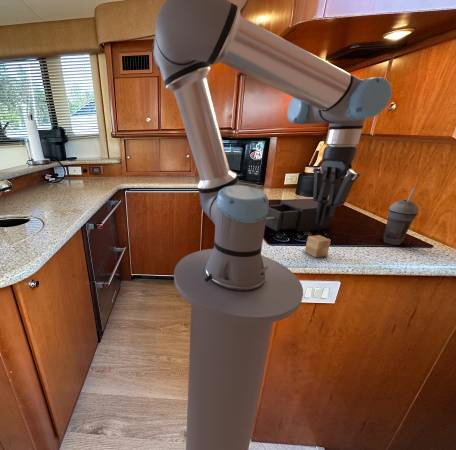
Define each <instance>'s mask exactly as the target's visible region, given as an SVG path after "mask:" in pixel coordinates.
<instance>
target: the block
mask: <svg viewBox="0 0 456 450" xmlns="http://www.w3.org/2000/svg"><path fill="white" fill-rule="evenodd" d="M331 241H332V240H331V239H329V238H327V237H325V236H322V235H320V234H318V235H317V234H316V235H309V236H307V240H306V244H305V248H304V252H305V253H307V254H308V255H310V256H312V257H314V258H322V257H327V256H328V252H329V249H330V246H331Z"/></svg>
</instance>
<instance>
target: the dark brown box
mask: <svg viewBox="0 0 456 450" xmlns="http://www.w3.org/2000/svg"><path fill="white" fill-rule="evenodd" d="M282 204H285V205H287V206H290V207H293V208H296V209H298V210H301V213H300V218H299V223H298V228H291V229H292V230H294V231H296V232H298V233H299V232H308V231H316V230H327V229H329V228H330V225H327V226H321V225H320V224H316V223H315V221H316V217H317V212H316V210H317V205H318V202H317V200H314V199H310V198H305V199H293V200H281V201H280V204H279V205H282Z"/></svg>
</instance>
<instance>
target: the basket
mask: <svg viewBox="0 0 456 450" xmlns="http://www.w3.org/2000/svg"><path fill="white" fill-rule="evenodd" d="M300 213H301V210H298V209H296V208H293V207H290V206H287V205H285V204H282V205H280V204H273V205H272V204H271V205H268V214H267V217H266V224H265V227H268V228H270V229H271V230H273V231H275V232H280V230H289V229H290V230H291V229H292V228H298V223H299V218H300Z"/></svg>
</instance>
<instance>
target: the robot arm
mask: <svg viewBox="0 0 456 450" xmlns="http://www.w3.org/2000/svg"><path fill="white" fill-rule="evenodd" d="M241 14H242V13H241V10H240V6H239V5H237V4H235V3H233V2H231V1H229V0H165V1H164V2H163V4H162V5H161V6H160V8H159V11H158V13H157V17H156V21H155V31H154V39H153V44H152V55H153V59H154V60H153V61H154V64H155V65H156V67H157V69H158V71H159V72H160V73H161V77H162V79H163V82H164V86H165V89H166V90H168V91H170V92H172V93H173V95H174V98H175V101H176V105H177V108H178V111H179V114H180V118H181V120H182V121H181V122H182V124H183V127H184V131H185V134H186V137H187V141H188V143H189V147H190V150H191V153H192V157H193V160H194V163H195V166H196V171H197V173H198V176H199V181H198V183H197V185H196V188H197V191H198V194H199V203H200V207H201V210H202V212H203V213H204V214H205V216H207V218H209V220H210V221H211V222H212V223H213V224H214V226H215V227H214V241H213V248H212V249H213V250H212V253H211V255H210V257H209V260H208V262H207V264H206V276H207V277H206V278H205V279H204V280H205V281H206V282H207V281H209V280H210V281H211V282H212V283H214V284H215V285H217V286H219V287H221V288H224V289H227V290H231V291H238V292H248V291H253V290H256V289H259V288H260V287H262V286H263V284H264V282H265V271H266V270H267V269H268V266H266V267H265V268H264V265H263V260H262V256H263V255H262V248H263V241H264V236H265V230H266V229H265V228H266V225H265V224H266V217H267V214H268V206H269V197H268V195H267V194H266V193H265V192H264V191H262V190H260V189H259V188H256V187H250V186H248V185H240V183H239V177H238V174H237V172H235V171H232V170H231V169H230V165H229V162H228V158H227V154H226V149H225V146H224V141H223V138H222V133H221V131H220V130H221V129H220V126H219V123H218V118H217V115H216V111H215V108H214V102H213V99H212V95H211V91H210V87H209V84H208V76H209V73H210V71H211V66H215V65H217V64H222V65H224V66H227V67H229V68H231V69H233V70H235V71H237V72H240V73H242V74H243V75H246V76H248V77H250V78H252V79H254V80H256V81H258V82H260V83H263V84H264V85H267V86H269V87H271V88H273V89H275V90H278V91H280V92H282V93H283V94H286V95H288V96H290V97H292V98H291V100H290V102H289V104H288V107H287V111H286V112H287V120H288V122H289V123H290V124H293V125H300V126H302V125H314V124H315V125H316V124H317V125H318V124H328V131H327V135H326V138H325V143H324V144H325V145H326V146H325V147H324V148H323V152H322V157H321V159H322V161H323V162H322V163H321V165H320V166H319V167H314V168H313V170H312V172H313V192H312V200H314V201H317V202H318V205H317V210H316V212H317V217H316V221H315V223H316V224H320V225H321V226H327V225H329V226H330V224H331V220H332V217H334V216H335V212H336V208H337V207H338V206H343V205H345V203H346V201H347V199H348V196H349V194H350V192H351V190H352V188H353V186H354V184H355V182H356V180H357V179H358V178H359V177H360V175H361V174H360V173H359V172H355V171H354V170H353V165H352V163H353V161H354V160H355V159H356V154H357V151H358V148H357V146H356V145H359V143H360V139H361V135H362V131H363V128H364V124H365V120H368V119H372V118H374V117H377V116H378V115H380V114H381V113H382V112H383V111H384V110H385V109H386V107H387V106H388V104H389V103H390V100H391V97H392V85H391V82H389V80H388V79H386V78H385V77H381V76H376V77H375V76H374V77H366V78H364V79H361V78H360V77H357V76H355V75H354V74H351V73H349V72H347V71H345V70H344V69H342V68H340V67H337V66H336V65H334V64H332V63H331V62H329V61H326V60H324V59H323V58H321V57H319V56H317V55H315V54H313V53H311V52H309V51H307V50H305V49H304V48H302V47H300V46H298V45H296V44H294V43H292V42H290V41H288V40H286V39H284V38H283V37H281V36H279V35H278V34H275V33H273V32H271V31H269V30H267V29H266V28H264V27H262V26H260V25H258V24H256V23H254V22H252V21H250V20H249V19H247V18H245V17H243V16H242V15H241ZM261 255H262V256H261Z"/></svg>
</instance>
